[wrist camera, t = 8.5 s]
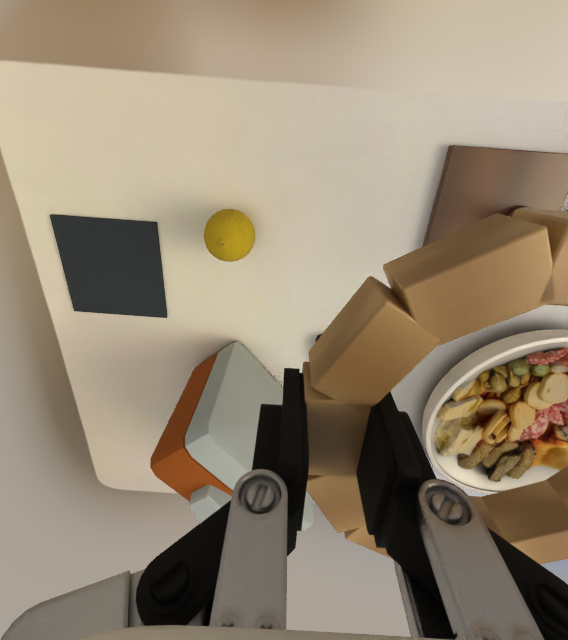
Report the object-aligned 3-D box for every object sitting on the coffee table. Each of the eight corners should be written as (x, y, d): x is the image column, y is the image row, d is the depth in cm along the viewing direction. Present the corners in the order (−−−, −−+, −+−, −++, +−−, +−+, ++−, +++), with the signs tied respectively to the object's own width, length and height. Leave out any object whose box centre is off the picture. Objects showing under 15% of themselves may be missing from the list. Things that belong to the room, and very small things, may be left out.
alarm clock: (193, 365, 49) (132, 489, 30) (237, 335, 46) (198, 451, 28) (268, 437, 55) (255, 576, 36) (310, 414, 52) (318, 552, 34)
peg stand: (416, 269, 41) (447, 298, 32) (449, 145, 34) (498, 140, 26) (525, 277, 41) (584, 308, 32) (577, 155, 35) (668, 153, 26)
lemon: (206, 213, 39) (185, 226, 31) (248, 198, 38) (237, 207, 30) (224, 256, 41) (209, 277, 34) (264, 242, 40) (258, 261, 33)
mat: (75, 309, 45) (74, 311, 45) (51, 214, 39) (49, 214, 39) (167, 316, 45) (166, 317, 45) (157, 222, 39) (155, 222, 39)
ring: (289, 513, 15) (289, 560, 13) (317, 198, 9) (323, 208, 7) (587, 529, 15) (626, 580, 13) (834, 224, 9) (975, 241, 7)
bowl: (474, 491, 60) (498, 536, 53) (376, 400, 50) (389, 439, 43) (650, 408, 50) (709, 449, 42) (567, 275, 40) (625, 299, 33)
